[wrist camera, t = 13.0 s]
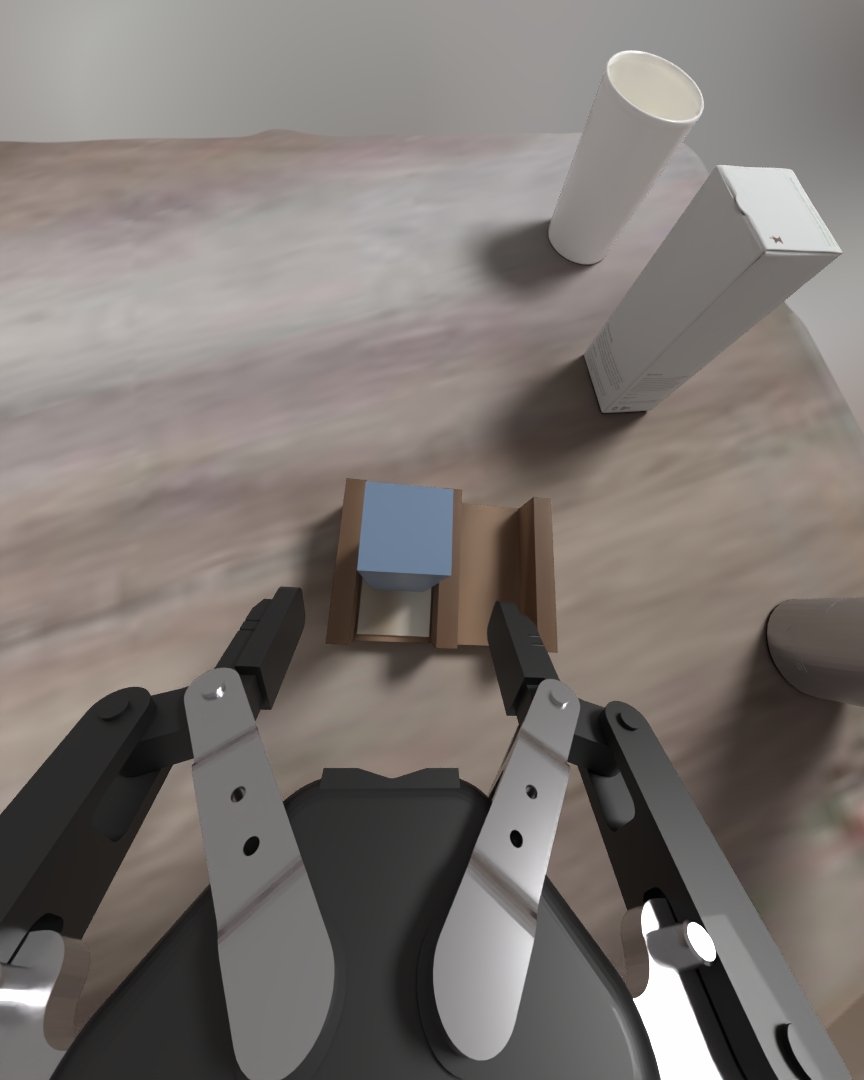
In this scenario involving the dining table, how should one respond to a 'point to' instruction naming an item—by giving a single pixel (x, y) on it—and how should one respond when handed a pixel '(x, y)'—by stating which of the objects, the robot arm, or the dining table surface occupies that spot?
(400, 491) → the block
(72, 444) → the dining table surface
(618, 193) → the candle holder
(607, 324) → the skincare box
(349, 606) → the rack
